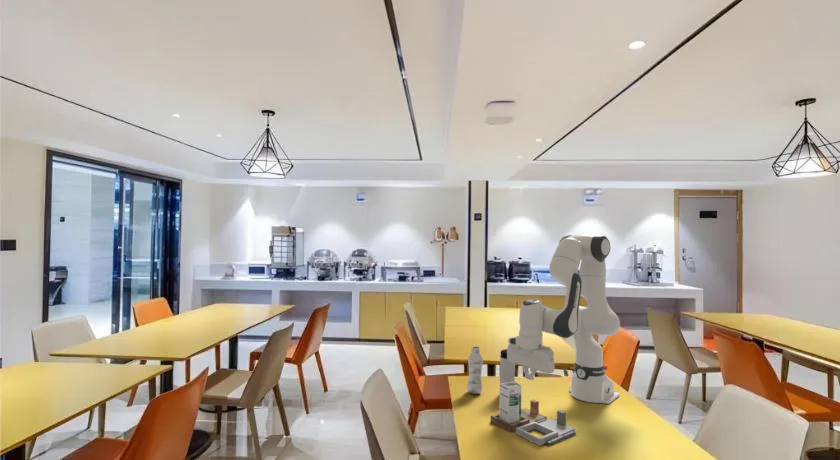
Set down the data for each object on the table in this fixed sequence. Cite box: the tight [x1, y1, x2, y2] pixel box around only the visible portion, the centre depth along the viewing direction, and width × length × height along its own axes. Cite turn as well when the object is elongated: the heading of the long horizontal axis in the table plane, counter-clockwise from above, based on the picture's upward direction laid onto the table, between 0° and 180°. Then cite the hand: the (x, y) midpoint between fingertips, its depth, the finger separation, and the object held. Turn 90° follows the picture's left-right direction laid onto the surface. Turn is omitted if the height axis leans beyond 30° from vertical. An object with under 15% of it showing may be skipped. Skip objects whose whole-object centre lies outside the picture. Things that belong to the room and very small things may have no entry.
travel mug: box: [499, 348, 516, 384], centre depth 179 cm, size 6×7×20 cm
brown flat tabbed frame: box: [490, 399, 548, 432], centre depth 153 cm, size 20×10×5 cm, turn 126°
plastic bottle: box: [466, 345, 484, 395], centre depth 181 cm, size 6×7×20 cm
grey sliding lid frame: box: [515, 409, 576, 447], centre depth 144 cm, size 20×10×5 cm, turn 126°
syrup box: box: [498, 381, 522, 424], centre depth 150 cm, size 6×6×14 cm
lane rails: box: [536, 418, 577, 447], centre depth 149 cm, size 15×25×1 cm, turn 36°
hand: (529, 379), depth 157 cm, fingers closed
